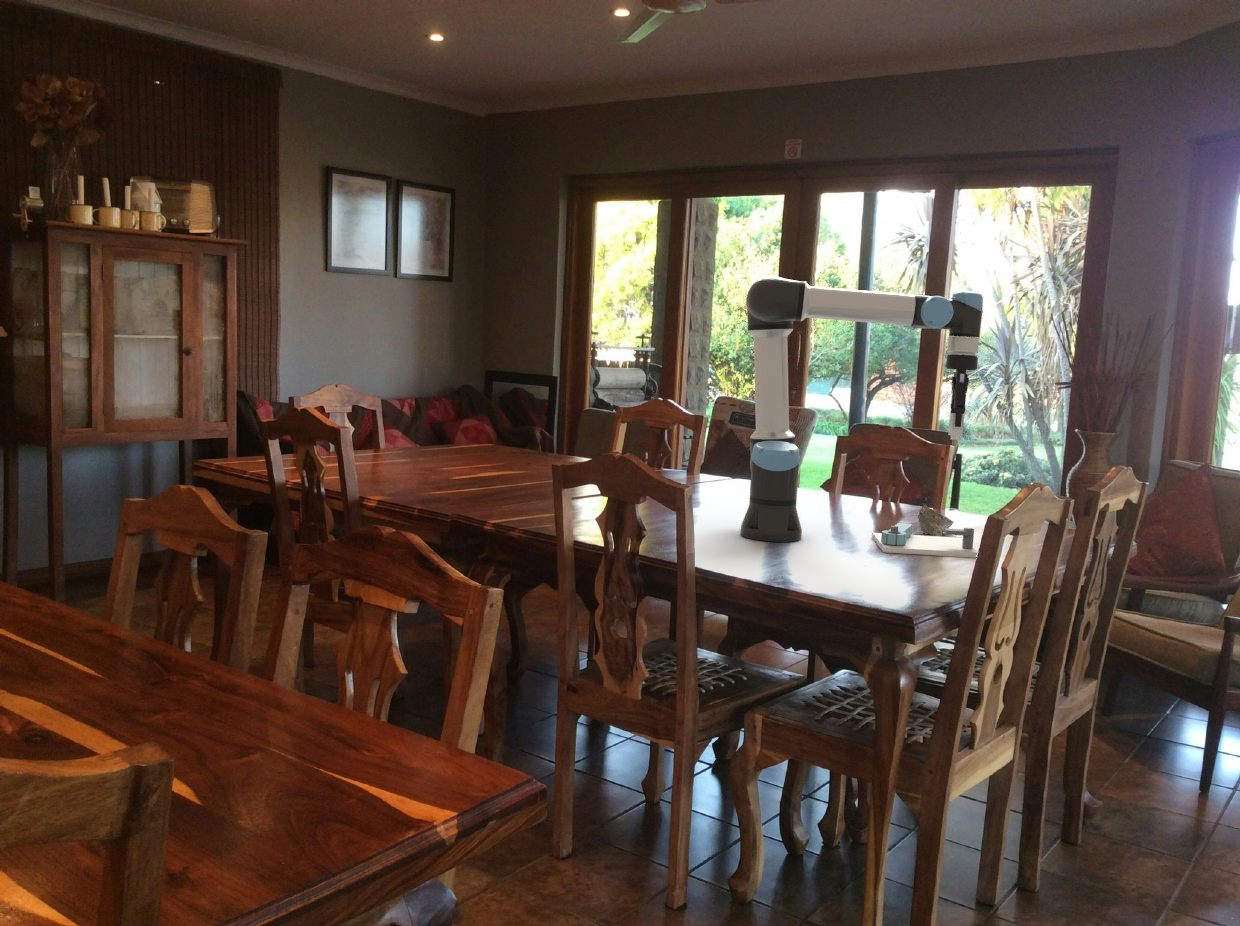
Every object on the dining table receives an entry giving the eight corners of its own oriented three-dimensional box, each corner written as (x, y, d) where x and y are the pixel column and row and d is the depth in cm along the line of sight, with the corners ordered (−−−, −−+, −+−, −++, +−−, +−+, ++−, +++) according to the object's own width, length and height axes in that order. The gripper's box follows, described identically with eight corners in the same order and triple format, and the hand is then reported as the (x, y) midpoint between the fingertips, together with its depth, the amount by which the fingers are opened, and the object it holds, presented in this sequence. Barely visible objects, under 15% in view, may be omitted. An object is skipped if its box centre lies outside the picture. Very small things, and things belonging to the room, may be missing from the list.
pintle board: (883, 552, 254) (885, 527, 253) (871, 537, 273) (873, 514, 272) (978, 557, 252) (980, 532, 252) (960, 542, 271) (961, 519, 270)
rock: (939, 535, 274) (918, 503, 278) (923, 548, 278) (903, 516, 282) (963, 531, 281) (942, 500, 285) (948, 543, 285) (927, 513, 289)
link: (903, 546, 255) (903, 535, 255) (879, 543, 257) (880, 532, 257) (915, 534, 271) (916, 524, 271) (893, 531, 273) (894, 522, 273)
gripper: (981, 355, 258) (973, 443, 260) (975, 354, 282) (967, 434, 284) (949, 353, 259) (941, 440, 262) (945, 353, 283) (938, 432, 286)
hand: (954, 437), depth 273 cm, fingers open, 13 cm apart
